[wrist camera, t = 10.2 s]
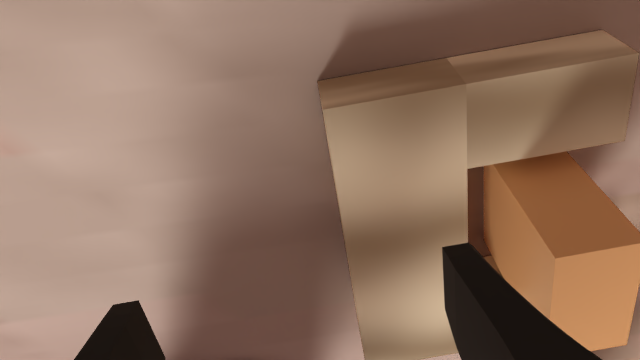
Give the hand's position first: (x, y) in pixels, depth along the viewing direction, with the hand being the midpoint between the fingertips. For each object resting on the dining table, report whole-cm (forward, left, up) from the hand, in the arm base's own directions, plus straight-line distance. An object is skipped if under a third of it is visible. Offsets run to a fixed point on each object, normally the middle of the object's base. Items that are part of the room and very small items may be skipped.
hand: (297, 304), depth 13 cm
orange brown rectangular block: (-6, -10, -10) cm, 15 cm away
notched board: (-6, -7, -10) cm, 14 cm away
